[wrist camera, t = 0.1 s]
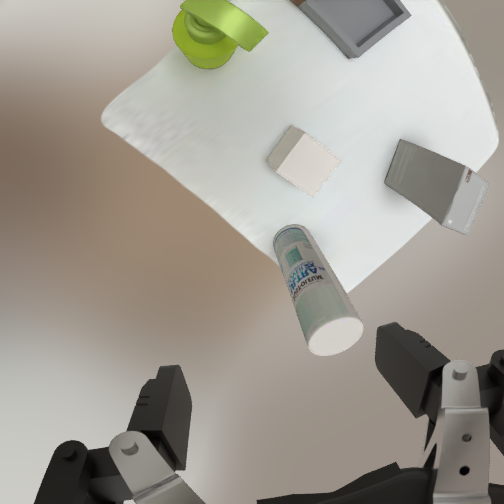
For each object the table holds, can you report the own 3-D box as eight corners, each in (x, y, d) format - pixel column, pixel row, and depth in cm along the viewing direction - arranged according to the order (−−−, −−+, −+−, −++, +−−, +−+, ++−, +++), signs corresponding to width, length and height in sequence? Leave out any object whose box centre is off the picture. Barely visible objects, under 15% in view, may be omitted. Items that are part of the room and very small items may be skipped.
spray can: (290, 264, 48) (328, 362, 31) (263, 243, 45) (295, 345, 28) (319, 239, 46) (373, 330, 29) (294, 215, 43) (346, 308, 26)
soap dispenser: (219, 82, 31) (228, 75, 14) (176, 53, 27) (137, 18, 11) (249, 49, 28) (292, 11, 12) (206, 20, 25) (203, -45, 9)
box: (297, 7, 25) (304, 1, 23) (356, -31, 21) (366, -37, 19) (348, 58, 30) (358, 57, 27) (399, 17, 26) (411, 15, 23)
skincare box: (408, 193, 43) (468, 240, 30) (378, 181, 41) (441, 230, 28) (426, 149, 39) (493, 186, 26) (397, 134, 37) (469, 167, 24)
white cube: (291, 124, 35) (305, 132, 30) (323, 149, 37) (341, 160, 32) (265, 159, 37) (275, 172, 32) (299, 181, 40) (312, 197, 35)
